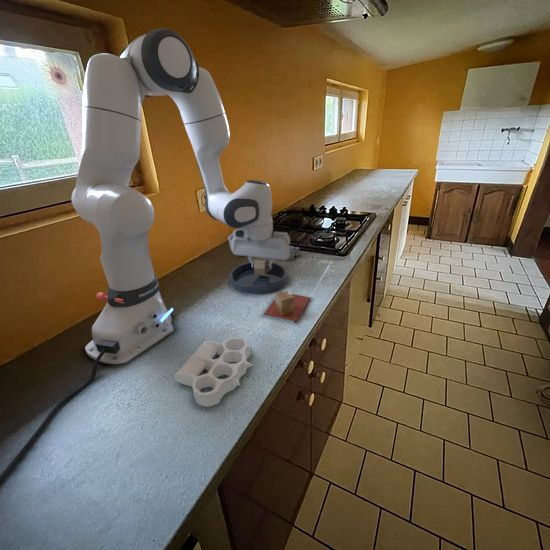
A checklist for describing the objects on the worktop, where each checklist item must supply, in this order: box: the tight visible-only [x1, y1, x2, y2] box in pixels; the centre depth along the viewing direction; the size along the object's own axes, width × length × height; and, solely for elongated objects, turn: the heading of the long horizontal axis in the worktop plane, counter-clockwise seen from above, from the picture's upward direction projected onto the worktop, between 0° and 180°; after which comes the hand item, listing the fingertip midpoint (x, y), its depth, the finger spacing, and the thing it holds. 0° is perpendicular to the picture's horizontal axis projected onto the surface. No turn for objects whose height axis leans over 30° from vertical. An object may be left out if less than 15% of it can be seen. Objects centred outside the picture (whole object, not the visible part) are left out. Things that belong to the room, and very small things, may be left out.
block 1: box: [254, 257, 270, 275], centre depth 106 cm, size 4×4×5 cm
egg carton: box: [287, 245, 300, 260], centre depth 123 cm, size 11×8×4 cm
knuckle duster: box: [173, 336, 254, 408], centre depth 67 cm, size 3×18×15 cm
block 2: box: [274, 290, 294, 315], centre depth 87 cm, size 4×4×5 cm
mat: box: [263, 291, 311, 324], centre depth 90 cm, size 13×10×1 cm
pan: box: [229, 261, 288, 295], centre depth 105 cm, size 19×19×3 cm
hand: (261, 268), depth 106 cm, fingers closed on block 1, 4 cm apart
